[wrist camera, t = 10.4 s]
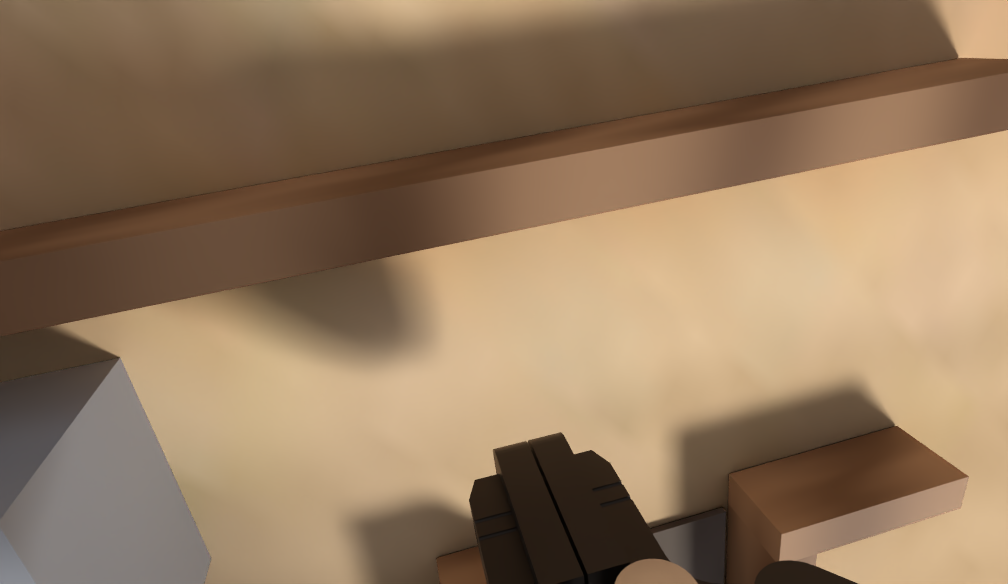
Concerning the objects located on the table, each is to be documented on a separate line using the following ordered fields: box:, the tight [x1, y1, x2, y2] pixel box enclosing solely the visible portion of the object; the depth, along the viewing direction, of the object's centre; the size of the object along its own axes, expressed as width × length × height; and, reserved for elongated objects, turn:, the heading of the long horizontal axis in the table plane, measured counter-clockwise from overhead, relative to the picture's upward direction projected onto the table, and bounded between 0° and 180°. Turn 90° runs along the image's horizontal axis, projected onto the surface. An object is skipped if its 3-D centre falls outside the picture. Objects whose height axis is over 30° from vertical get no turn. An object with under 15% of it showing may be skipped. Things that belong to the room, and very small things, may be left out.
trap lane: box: [0, 58, 1008, 584], centre depth 16 cm, size 27×20×2 cm
